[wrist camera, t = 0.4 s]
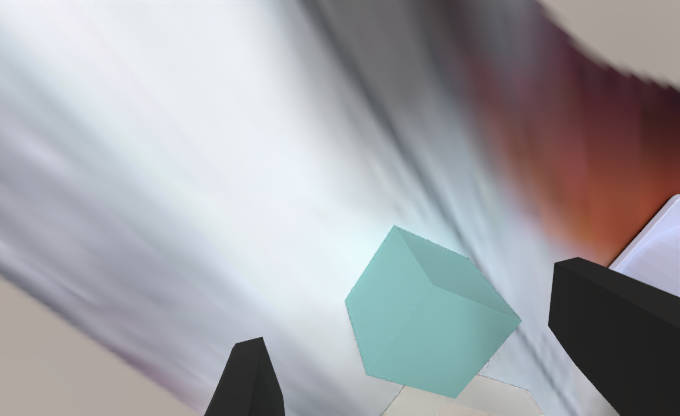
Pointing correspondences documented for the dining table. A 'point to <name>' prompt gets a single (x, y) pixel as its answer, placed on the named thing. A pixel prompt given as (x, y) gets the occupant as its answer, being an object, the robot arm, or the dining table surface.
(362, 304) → the teal block
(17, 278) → the dining table surface
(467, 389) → the stone plinth
